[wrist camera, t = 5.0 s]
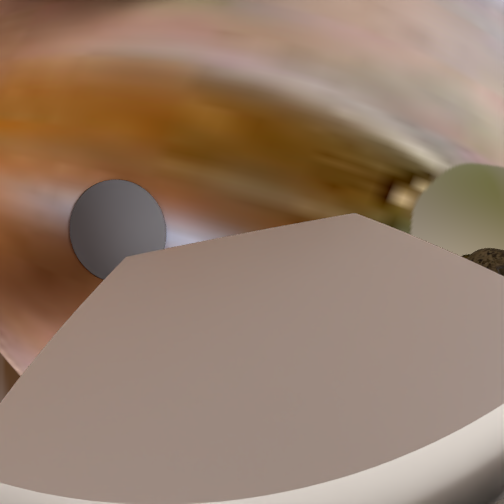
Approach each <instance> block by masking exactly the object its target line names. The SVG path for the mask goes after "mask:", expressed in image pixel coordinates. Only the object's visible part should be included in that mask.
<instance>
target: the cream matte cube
mask: <svg viewBox="0 0 504 504" xmlns="http://www.w3.org/2000/svg"><path fill="white" fill-rule="evenodd" d="M503 498H504V276H502V275H500V274H498V273H496V272H494V271H492V270H489V269H487V268H485V267H483V266H481V265H479V264H477V263H474V262H472V261H470V260H468V259H466V258H463V257H461V256H459V255H456V254H454V253H452V252H450V251H448V250H445V249H443V248H441V247H438V246H436V245H434V244H431V243H429V242H427V241H424V240H422V239H419V238H417V237H414V236H412V235H410V234H407V233H405V232H402V231H400V230H397V229H395V228H392V227H390V226H387V225H385V224H382V223H380V222H377V221H375V220H372V219H369V218H367V217H364V216H361V215H359V214H356V213H353V214H347V215H341V216H335V217H330V218H324V219H319V220H313V221H308V222H302V223H297V224H291V225H286V226H280V227H275V228H270V229H264V230H259V231H254V232H248V233H243V234H238V235H233V236H228V237H222V238H217V239H212V240H207V241H202V242H197V243H192V244H187V245H182V246H177V247H172V248H167V249H162V250H157V251H152V252H147V253H142V254H137V255H133V256H128V257H126V258H125V259H124V260H123V261H122V262H121V263H120V264H119V265H118V266H117V267H116V268H115V269H114V270H113V271H112V272H111V273H110V274H109V275H108V276H107V277H106V278H105V279H104V280H103V281H102V283H101V284H100V285H99V286H98V287H97V288H96V289H95V290H94V291H93V292H92V293H91V294H90V295H89V297H88V298H87V299H86V300H85V301H84V302H83V303H82V304H81V305H80V306H79V308H78V309H77V310H76V311H75V312H74V313H73V314H72V315H71V317H70V318H69V319H68V320H67V321H66V322H65V323H64V325H63V326H62V327H61V328H60V329H59V330H58V331H57V333H56V334H55V335H54V336H53V337H52V338H51V340H50V341H49V342H48V343H47V344H46V346H45V347H44V348H43V349H42V350H41V352H40V353H39V354H38V355H37V357H36V358H35V359H34V360H33V361H32V363H31V364H30V365H29V366H28V368H27V369H26V370H25V371H24V373H23V374H22V375H21V376H20V378H19V379H18V380H17V382H16V383H15V384H14V386H13V387H12V388H11V390H10V391H9V392H8V393H7V395H6V396H5V397H4V399H3V400H2V401H1V403H0V504H496V503H497V502H499V501H500V500H501V499H503Z"/></svg>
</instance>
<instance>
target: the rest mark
mask: <svg viewBox="0 0 504 504" xmlns="http://www.w3.org/2000/svg"><path fill="white" fill-rule="evenodd" d="M70 238H71V243H72V246H73V249H74V251H75V254H76V255H77V257H78V259H79V260H80V262H81V263H82V264H83V265H84V266H85V268H86V269H87V270H89V271H90V272H91V273H92V274H94V275H95V276H97V277H99V278H101V279H105V278H106V277H107V276H108V275H109V274H110V273H111V272H112V271H113V270H114V269H115V268H116V267H117V266H118V265H119V264H120V263H121V262H122V261H123V260H124V259H125V258H126V257H128V256H133V255H137V254H142V253H147V252H152V251H157V250H162V249H164V246H165V242H166V225H165V220H164V216H163V214H162V211H161V209H160V207H159V205H158V203H157V202H156V201H155V199H154V198H153V197H152V196H151V195H150V194H149V193H148V192H147V191H146V190H145V189H143V188H142V187H140V186H139V185H137V184H134V183H132V182H129V181H125V180H108V181H103V182H100V183H98V184H96V185H94V186H92V187H91V188H89V189H88V190H87V191H86V192H84V193H83V195H82V196H81V197H80V198H79V200H78V201H77V203H76V205H75V207H74V209H73V212H72V215H71V220H70Z"/></svg>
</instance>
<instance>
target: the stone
mask: <svg viewBox="0 0 504 504" xmlns="http://www.w3.org/2000/svg"><path fill="white" fill-rule="evenodd" d="M461 257H463V258H466V259H468V260H470V261H472V262H474V263H477V264H479V265H481V266H483V267H485V268H487V269H489V270H492V271H494V272H496V273H498V274H500V275H502V276H504V250H500V249H494V248H484V249H480V250H477V251H475V252H473V253H472V254H468V255H463V256H461Z"/></svg>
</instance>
